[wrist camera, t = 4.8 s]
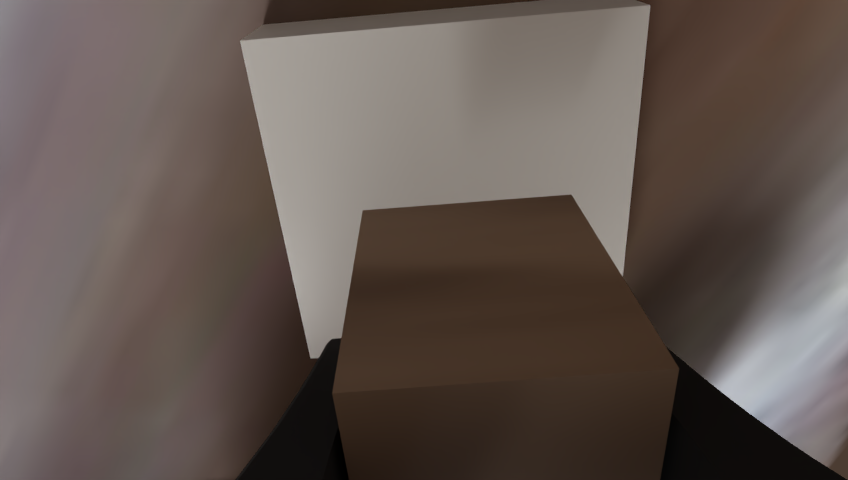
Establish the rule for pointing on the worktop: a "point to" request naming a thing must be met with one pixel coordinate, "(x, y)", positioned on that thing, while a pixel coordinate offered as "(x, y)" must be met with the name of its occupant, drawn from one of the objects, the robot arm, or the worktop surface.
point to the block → (497, 350)
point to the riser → (442, 123)
